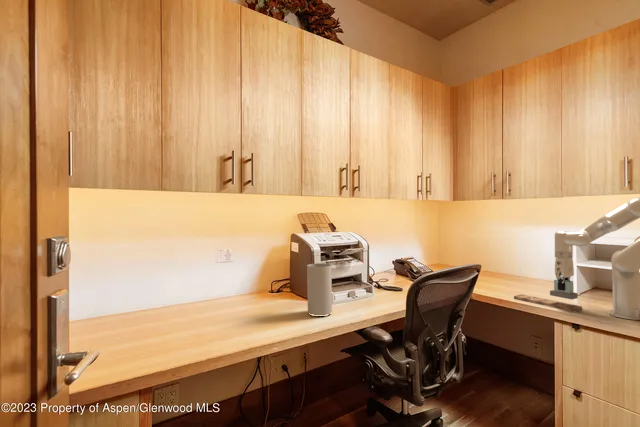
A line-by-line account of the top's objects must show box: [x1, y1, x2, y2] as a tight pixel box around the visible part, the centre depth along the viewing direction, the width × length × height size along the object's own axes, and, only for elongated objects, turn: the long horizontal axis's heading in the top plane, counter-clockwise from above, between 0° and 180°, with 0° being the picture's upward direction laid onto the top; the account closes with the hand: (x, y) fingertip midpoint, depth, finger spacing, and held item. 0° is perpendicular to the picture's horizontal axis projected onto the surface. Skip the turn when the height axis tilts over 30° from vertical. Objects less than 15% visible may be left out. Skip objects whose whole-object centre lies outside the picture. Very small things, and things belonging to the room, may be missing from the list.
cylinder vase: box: [306, 262, 333, 315], centre depth 164 cm, size 12×12×25 cm
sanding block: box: [549, 278, 579, 300], centre depth 168 cm, size 10×6×8 cm, turn 29°
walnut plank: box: [513, 294, 583, 312], centre depth 176 cm, size 30×8×2 cm, turn 29°
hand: (563, 289), depth 168 cm, fingers closed on sanding block, 4 cm apart
